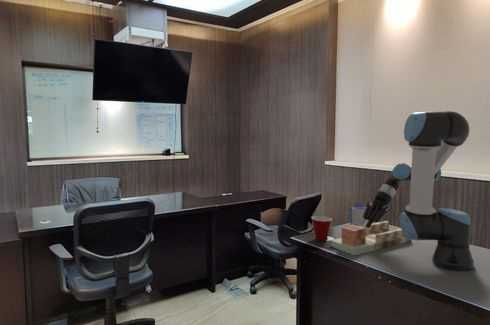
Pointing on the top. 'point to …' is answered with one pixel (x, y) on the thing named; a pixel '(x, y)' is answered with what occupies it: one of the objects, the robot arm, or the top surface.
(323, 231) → the plastic cup
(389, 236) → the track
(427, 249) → the top surface
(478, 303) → the top surface
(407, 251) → the top surface
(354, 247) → the pad
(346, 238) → the block
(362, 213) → the ink cartridge box
